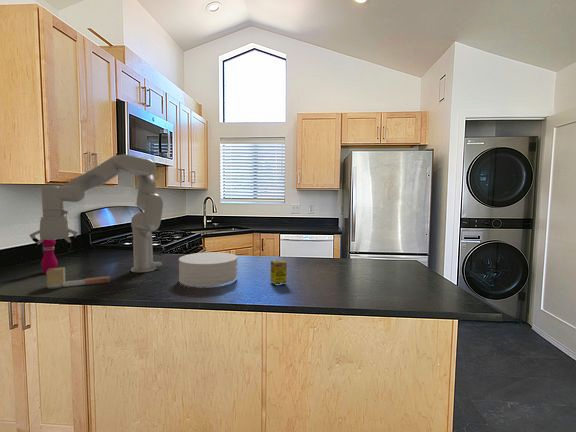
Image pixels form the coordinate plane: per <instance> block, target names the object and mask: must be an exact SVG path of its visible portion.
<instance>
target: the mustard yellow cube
mask: <svg viewBox="0 0 576 432" xmlns="http://www.w3.org/2000/svg"><path fill="white" fill-rule="evenodd" d="M46 273H47V274H46V285H52V284H61V283H64V282H65V281H66V267H65V266H63V267H56V268H49V269H48V270H47V271H46Z"/></svg>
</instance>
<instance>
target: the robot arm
mask: <svg viewBox="0 0 576 432" xmlns="http://www.w3.org/2000/svg"><path fill="white" fill-rule="evenodd" d="M156 171H157V164H156V163H155V162H154V161H153V160H152V159H150V158H146V157H145V158H144V157H139V156H136V155H135V156H134V155H130V154H117V155H114V156H112V157H110V158H108V159H106V160H105V161H104V162H102V163H100V164H98V165H97V166H95V167H94V168H92V169H90V170H88V171H86V172H85V173H83V174H81V175H79V176H77V177H74V178H73V179H72V180H70V181H69V182H67V183H65V184H64V185H62V186H60V185H44V186H42V187H41V205H42V208H41V209H42V216H41V217H40V221H39V230H37V231H34V232H33V233H30V234H29V237H30V239H31V240H32V241H33V242H34V243H36V244H37V249H38V252H39V253H40V254H44V250H43V243H42V242H43V241H44V240H51V239H55V240H63V239H64V240H65V241H66V252H70V250H72V242H73V241H74V240H75V239H76V237H77V236H78V233H79V232H78V231H76V230H73V229H71V228H69V224H68V223H69V222H68V218H67V216H65V215H68V212H69V211H68V210H64V202H69V203H70V202H71V203H77V202H78V203H79V202H81V201H82V200H83V199H84V197H85V194H86V193H85V192H87V191H89V190H91V189H94V188H96V187H100V186H102V185H105V184H107V183H108V182H110V181H111V180H113V179H114V178H115V177H117V176H119V175H120V174H121V173H124V172H125V173H126V172H127V173H132V174H134V176H135V178H137V181H138V191H137V197H136V206H137V208H138V209H139V210H142V211H144V212H138V213H136V214H134V215H133V216H132V218H131V221H130V223H131V224H130V226H131V231H132V239H133V240H132V241H133V242H132V243H133V244H132V245H133V246H132V247H133V250H132V251H133V252H132V253H133V267H131V268H130V271H131V272H132V273H138V274H139V273H149V272H153V271H155V270H156V269H157V267H159V266H163V264H162V261H154V259H153V255H154V254H153V232H155V231H157V230H158V229H159V228H160V225H161V222H162V215H163V207H164V200H163V199H162V197H161V196H160V195H159V194H158V193H156V186H157V184H156V179H155V177H154V174H155V172H156ZM70 234H72V236H71V237H69V235H70ZM36 235H37V236H38V235H39V239H38V238H37V237H36Z"/></svg>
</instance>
